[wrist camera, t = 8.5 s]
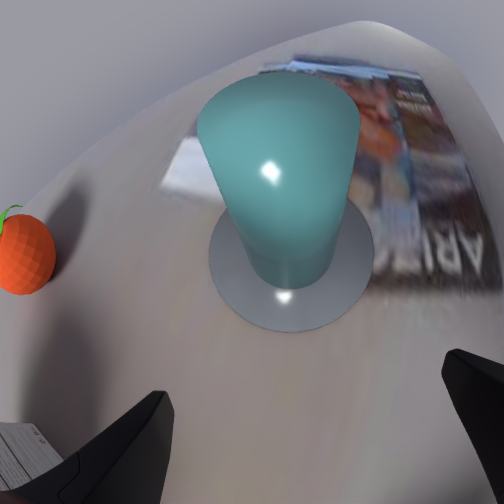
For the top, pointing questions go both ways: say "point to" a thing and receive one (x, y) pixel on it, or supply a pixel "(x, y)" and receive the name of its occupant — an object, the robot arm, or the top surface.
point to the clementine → (25, 254)
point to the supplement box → (23, 454)
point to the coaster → (293, 300)
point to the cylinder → (283, 169)
